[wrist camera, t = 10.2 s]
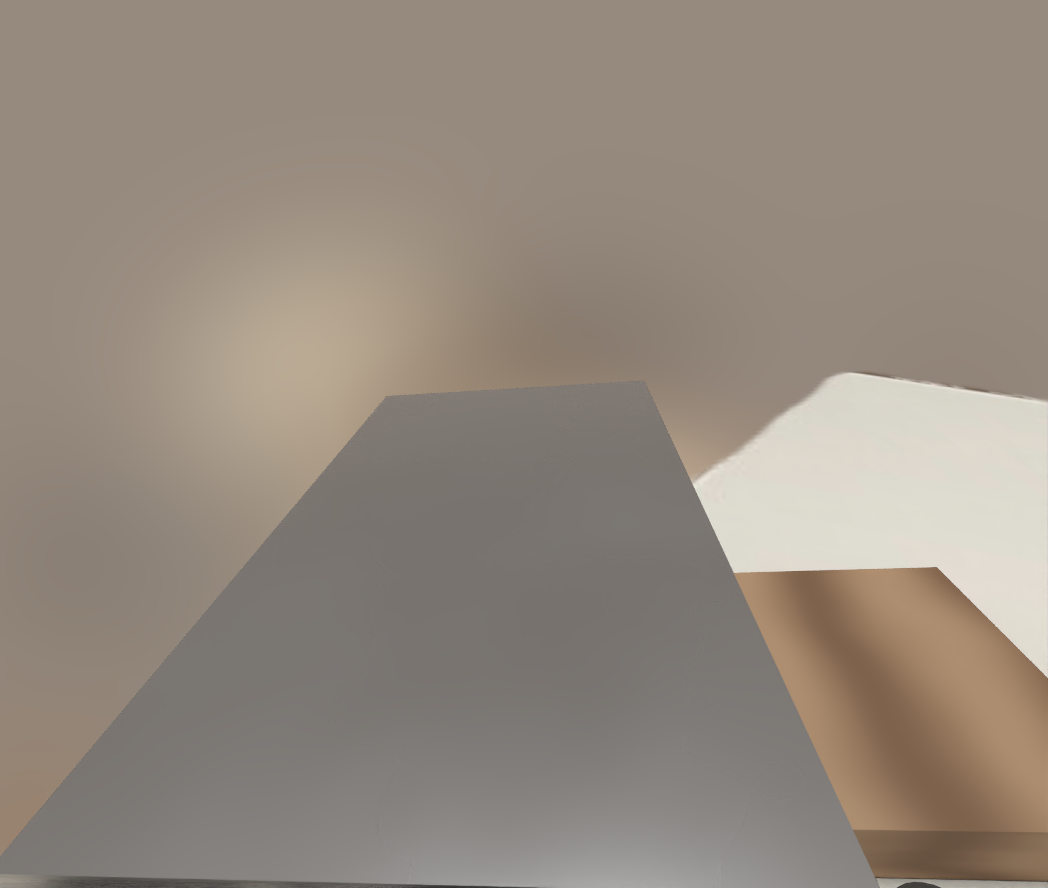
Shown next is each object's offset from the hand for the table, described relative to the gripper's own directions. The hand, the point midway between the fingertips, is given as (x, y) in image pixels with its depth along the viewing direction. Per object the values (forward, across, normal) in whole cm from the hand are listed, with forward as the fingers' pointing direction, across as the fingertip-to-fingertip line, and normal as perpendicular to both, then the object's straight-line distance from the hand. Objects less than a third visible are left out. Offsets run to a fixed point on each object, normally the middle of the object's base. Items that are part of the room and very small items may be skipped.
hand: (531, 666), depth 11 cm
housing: (-3, 0, +6) cm, 7 cm away
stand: (+6, -12, +10) cm, 17 cm away
